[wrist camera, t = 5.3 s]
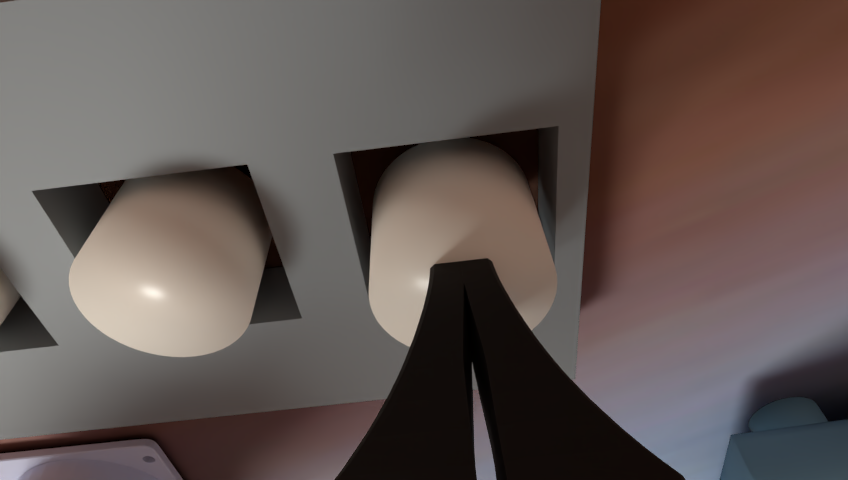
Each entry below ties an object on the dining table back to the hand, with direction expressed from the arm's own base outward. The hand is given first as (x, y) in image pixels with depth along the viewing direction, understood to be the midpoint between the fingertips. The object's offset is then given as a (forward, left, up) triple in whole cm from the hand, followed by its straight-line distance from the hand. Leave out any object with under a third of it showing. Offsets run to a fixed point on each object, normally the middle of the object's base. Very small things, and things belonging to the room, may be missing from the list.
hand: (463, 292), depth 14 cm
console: (0, +8, -5) cm, 9 cm away
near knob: (0, 0, -3) cm, 3 cm away
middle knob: (0, +8, -5) cm, 9 cm away
